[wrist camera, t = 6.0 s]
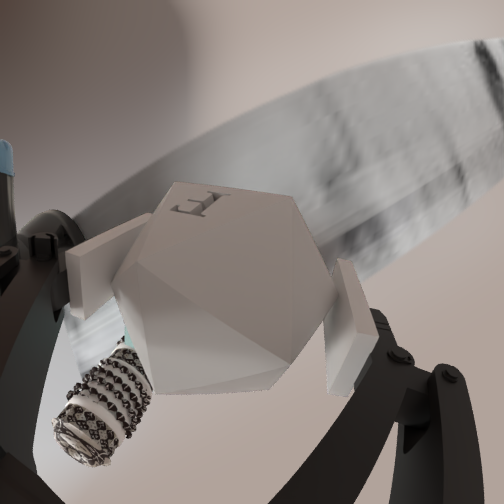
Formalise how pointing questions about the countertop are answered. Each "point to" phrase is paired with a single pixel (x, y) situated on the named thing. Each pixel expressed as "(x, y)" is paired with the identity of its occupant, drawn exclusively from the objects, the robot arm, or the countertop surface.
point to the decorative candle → (104, 408)
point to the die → (222, 290)
